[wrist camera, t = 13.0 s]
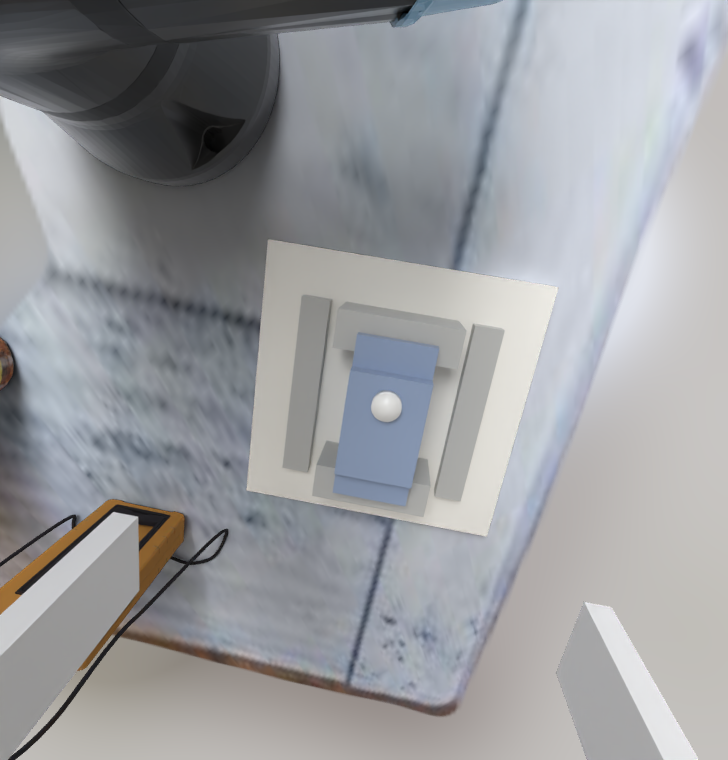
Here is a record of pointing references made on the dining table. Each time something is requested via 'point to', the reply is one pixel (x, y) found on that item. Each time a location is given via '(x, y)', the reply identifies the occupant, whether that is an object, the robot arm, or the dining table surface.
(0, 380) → the sauce bottle
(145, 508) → the multimeter
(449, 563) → the dining table surface
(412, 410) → the block
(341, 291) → the slot plate
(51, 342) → the dining table surface
